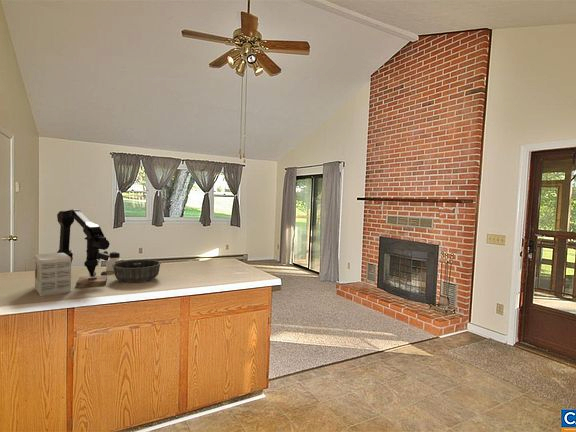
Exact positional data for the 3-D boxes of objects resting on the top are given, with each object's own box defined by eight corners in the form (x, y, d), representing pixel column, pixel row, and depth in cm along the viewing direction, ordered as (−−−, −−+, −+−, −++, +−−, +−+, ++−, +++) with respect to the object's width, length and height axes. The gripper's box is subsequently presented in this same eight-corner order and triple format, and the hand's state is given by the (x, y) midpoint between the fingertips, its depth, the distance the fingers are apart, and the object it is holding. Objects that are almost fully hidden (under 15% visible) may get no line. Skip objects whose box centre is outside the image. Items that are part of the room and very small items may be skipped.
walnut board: (76, 287, 181) (76, 282, 181) (79, 281, 194) (79, 276, 194) (105, 285, 187) (105, 280, 187) (107, 279, 200) (107, 275, 200)
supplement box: (33, 288, 176) (33, 254, 175) (64, 284, 185) (64, 252, 184) (39, 296, 163) (39, 259, 162) (71, 292, 173) (71, 257, 172)
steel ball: (88, 278, 188) (88, 271, 188) (89, 276, 191) (89, 270, 191) (95, 277, 189) (95, 271, 189) (96, 276, 193) (96, 270, 192)
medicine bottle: (115, 271, 219) (115, 253, 219) (105, 271, 221) (106, 252, 220) (122, 269, 226) (123, 252, 226) (113, 268, 228) (113, 251, 227)
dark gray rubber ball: (100, 277, 203) (100, 272, 203) (101, 276, 206) (101, 270, 206) (107, 277, 204) (107, 271, 204) (107, 276, 208) (107, 270, 207)
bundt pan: (102, 284, 189) (102, 266, 189) (126, 273, 216) (127, 258, 215) (148, 286, 188) (148, 269, 188) (167, 275, 215) (167, 260, 214)
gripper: (107, 250, 184) (107, 278, 185) (109, 245, 201) (109, 271, 202) (84, 250, 180) (84, 279, 180) (88, 245, 196) (87, 272, 197)
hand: (92, 275), depth 190 cm, fingers closed on steel ball, 3 cm apart
